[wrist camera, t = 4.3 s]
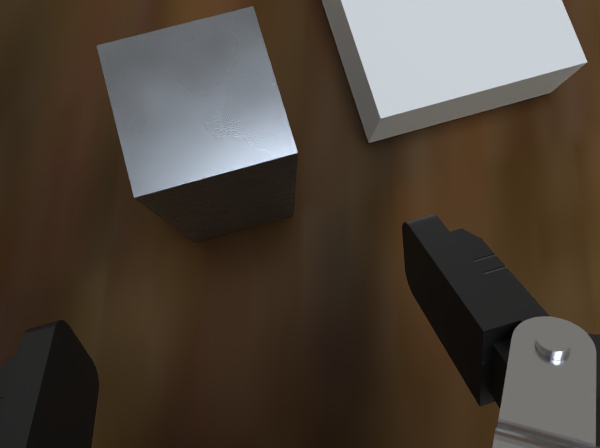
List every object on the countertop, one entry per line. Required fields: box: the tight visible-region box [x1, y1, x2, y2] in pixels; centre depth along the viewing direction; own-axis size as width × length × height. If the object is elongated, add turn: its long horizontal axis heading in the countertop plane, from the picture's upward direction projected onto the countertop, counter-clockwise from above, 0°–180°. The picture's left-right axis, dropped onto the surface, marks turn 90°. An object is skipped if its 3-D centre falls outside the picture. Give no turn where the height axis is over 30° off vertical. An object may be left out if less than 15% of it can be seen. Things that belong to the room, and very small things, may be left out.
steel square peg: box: [97, 6, 298, 243], centre depth 18 cm, size 4×4×9 cm
